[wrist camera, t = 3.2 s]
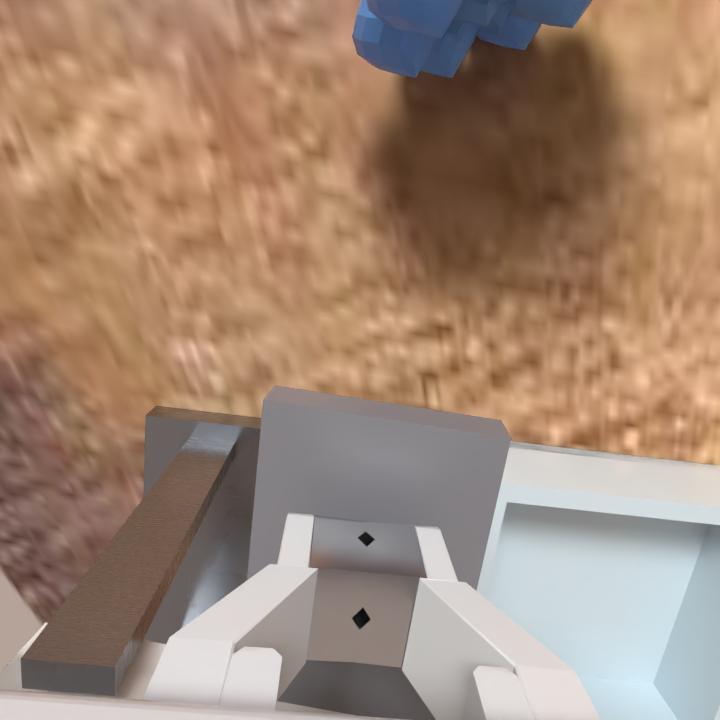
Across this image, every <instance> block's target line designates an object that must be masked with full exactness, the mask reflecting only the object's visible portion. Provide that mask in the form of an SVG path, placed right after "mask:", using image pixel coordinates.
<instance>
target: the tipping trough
mask: <svg viewBox="0 0 720 720" xmlns="http://www.w3.org/2000/svg"><path fill="white" fill-rule="evenodd" d="M510 442H511V437H510V435H509V433H508V432H507V430H506V428H505V426H504V425H503V423H502V421H501V420H496V419H489V418H483V417H476V416H470V415H463V414H457V413H450V412H444V411H437V410H431V409H424V408H418V407H411V406H405V405H398V404H392V403H385V402H379V401H372V400H366V399H359V398H353V397H346V396H340V395H333V394H327V393H320V392H314V391H307V390H301V389H294V388H288V387H281V386H275V387H274V388H273V389H272V390H271V391H270V393H269V394H268V395H267V396H266V397H265V398H264V400H263V408H262V419H261V430H260V441H259V452H258V463H257V474H256V485H255V497H254V508H253V519H252V530H251V541H250V552H249V563H248V574H247V580H248V579H250V578H251V577H252V576H254V575H255V574H256V573H258V572H259V571H261V570H262V569H263V568H265V567H266V566H267V565H269V564H277V563H278V558H279V553H280V548H281V543H282V538H283V533H284V528H285V523H286V518H287V515H288V513H301V514H312V515H313V516H315V515H318V516H326V517H334V518H343V519H351V520H359V521H364V522H372V523H386V524H399V525H414V526H430V527H438V528H439V529H440V530H441V533H442V536H443V538H444V541H445V544H446V547H447V550H448V553H449V556H450V559H451V562H452V565H453V568H454V571H455V574H456V576H457V579H458V582H466V583H467V584H468V585H470V586H471V587H472V588H473V589H475V590H476V591H477V586H478V582H479V578H480V573H481V569H482V564H483V560H484V556H485V551H486V547H487V543H488V538H489V534H490V529H491V525H492V521H493V516H494V512H495V508H496V503H497V499H498V494H499V490H500V486H501V481H502V477H503V473H504V468H505V464H506V459H507V455H508V451H509V446H510ZM47 624H48V623H45V624H44V625H43V626H42V627H41V628H40V630H39V631H38V632H37V633H36V634H35V635H34V636H33V637H32V638H31V639H30V640H29V641H28V642H27V644H26V645H25V646H24V647H23V648H22V649H21V650H20V651H19V652H18V654H16V655H15V657H14V658H13V659H12V660H11V661H10V662H9V663H8V664H7V665H6V666H5V667H4V669H3V670H2V671H1V672H0V689H3V690H16V691H30V692H43V693H57V694H70V695H83V696H97V697H110V698H124V699H137V700H142V699H143V697H144V694H145V692H146V690H147V688H148V685H149V683H150V681H151V678H152V676H153V674H154V672H155V669H156V667H157V665H158V662H159V660H160V658H161V656H162V653H163V651H164V649H165V646H166V644H162V643H157V642H151V641H145V640H143V641H142V643H141V645H140V647H139V649H138V651H137V653H136V655H135V657H134V659H133V661H132V663H131V665H130V667H129V669H128V671H127V673H126V675H125V676H124V678H123V680H122V682H121V684H120V686H119V688H118V690H117V692H116V694H115V696H111V695H99V694H86V693H74V692H62V691H49V690H37V689H24V688H22V678H21V658H22V656H23V655H24V654H25V652H26V651H27V650H28V649H29V647H30V646H31V645H32V643H33V642H34V641H35V639H36V638H37V637H38V635H39V634H40V633H41V632H42V630H43V629H44V628H45V626H46V625H47ZM276 710H286V711H299V712H313V713H326V714H340V715H353V716H366V717H380V718H393V719H407V720H436V719H435V718H434V716H433V715H432V713H431V712H430V710H429V709H428V707H427V706H426V705H425V703H424V702H423V700H422V699H421V697H420V696H419V694H418V693H417V691H416V690H415V689H414V687H413V686H412V684H411V683H410V681H409V680H408V678H407V677H406V675H405V674H404V672H403V671H402V668H400V667H391V666H382V665H373V664H364V663H355V662H338V661H318V660H306V663H305V664H304V666H303V667H302V668H301V670H300V671H299V672H298V674H297V675H296V676H295V678H294V679H293V680H292V682H291V683H290V684H289V686H288V687H287V688H286V690H285V691H284V692H283V694H282V695H281V696H280V698H279V699H278V700H277V704H276Z"/></svg>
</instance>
